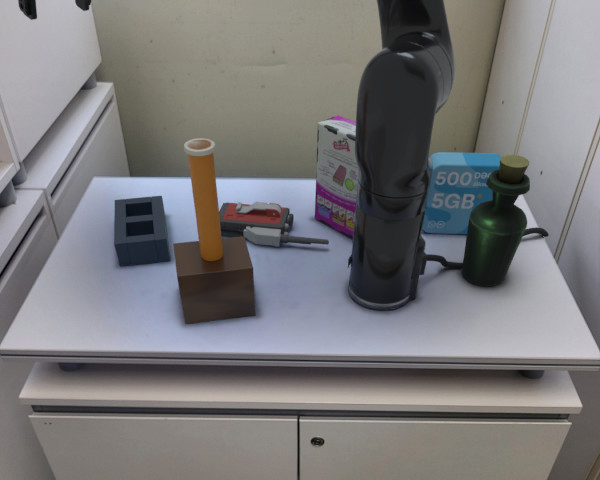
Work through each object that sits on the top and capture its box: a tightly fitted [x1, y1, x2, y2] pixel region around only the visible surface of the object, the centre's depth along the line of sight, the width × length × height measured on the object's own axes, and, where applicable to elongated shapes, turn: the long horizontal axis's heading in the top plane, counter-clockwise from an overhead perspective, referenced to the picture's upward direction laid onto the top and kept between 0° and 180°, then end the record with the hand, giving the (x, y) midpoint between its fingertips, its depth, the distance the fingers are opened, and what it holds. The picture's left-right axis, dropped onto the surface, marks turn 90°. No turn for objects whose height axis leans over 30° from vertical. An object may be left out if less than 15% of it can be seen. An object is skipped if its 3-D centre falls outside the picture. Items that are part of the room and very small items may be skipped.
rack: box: [113, 195, 171, 267], centre depth 95 cm, size 8×14×4 cm, turn 12°
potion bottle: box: [461, 154, 531, 287], centre depth 84 cm, size 8×8×18 cm
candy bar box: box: [314, 115, 359, 240], centre depth 95 cm, size 11×5×16 cm, turn 44°
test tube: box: [183, 137, 223, 261], centre depth 74 cm, size 4×4×15 cm
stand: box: [172, 236, 257, 325], centre depth 83 cm, size 10×8×8 cm
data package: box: [422, 151, 502, 235], centre depth 96 cm, size 12×4×12 cm, turn 88°
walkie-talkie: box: [219, 201, 330, 247], centre depth 97 cm, size 9×4×20 cm
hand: (57, 12), depth 82 cm, fingers open, 8 cm apart
